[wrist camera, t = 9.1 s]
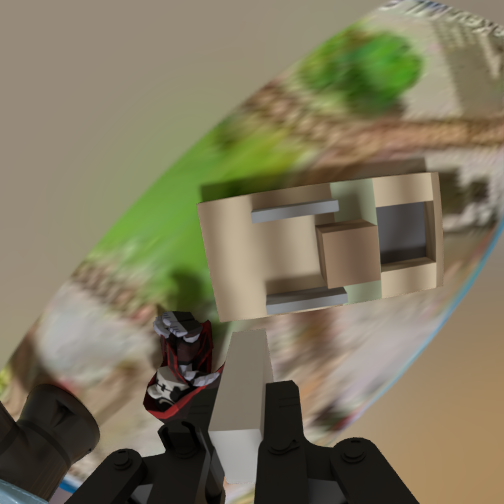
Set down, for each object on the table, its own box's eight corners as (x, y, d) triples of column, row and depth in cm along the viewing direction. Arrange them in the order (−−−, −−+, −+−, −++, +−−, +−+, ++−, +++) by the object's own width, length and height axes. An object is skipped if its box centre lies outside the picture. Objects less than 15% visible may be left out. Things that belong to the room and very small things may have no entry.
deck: (224, 311, 38) (215, 334, 32) (202, 202, 35) (189, 206, 29) (432, 278, 36) (455, 294, 30) (426, 172, 33) (451, 172, 27)
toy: (171, 362, 26) (163, 456, 30) (259, 344, 32) (232, 435, 36) (131, 295, 35) (129, 389, 39) (203, 290, 40) (189, 378, 45)
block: (320, 273, 33) (328, 288, 28) (314, 225, 32) (322, 233, 27) (366, 265, 33) (380, 279, 28) (362, 218, 32) (377, 225, 27)
